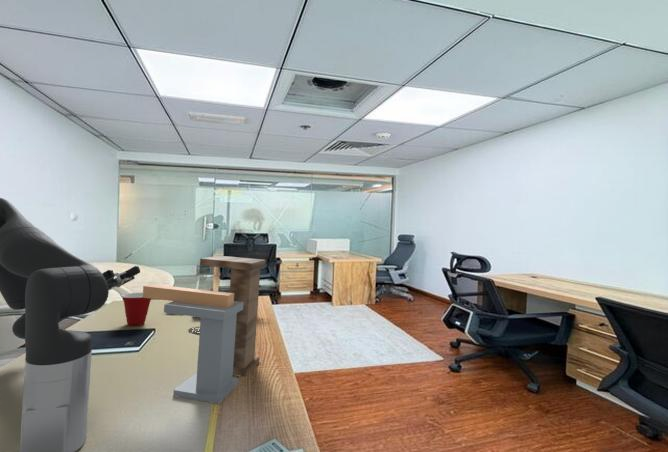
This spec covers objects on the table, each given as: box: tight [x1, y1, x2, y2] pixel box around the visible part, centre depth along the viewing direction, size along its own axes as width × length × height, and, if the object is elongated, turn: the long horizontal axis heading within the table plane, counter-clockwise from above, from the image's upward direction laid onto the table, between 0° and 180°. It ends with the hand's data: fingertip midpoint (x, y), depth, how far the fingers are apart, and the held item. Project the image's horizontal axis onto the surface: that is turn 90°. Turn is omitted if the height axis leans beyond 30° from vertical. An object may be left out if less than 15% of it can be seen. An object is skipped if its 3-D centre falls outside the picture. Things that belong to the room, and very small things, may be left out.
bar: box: [142, 283, 234, 308], centre depth 82 cm, size 24×3×3 cm, turn 80°
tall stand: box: [199, 255, 267, 377], centre depth 95 cm, size 16×10×32 cm, turn 80°
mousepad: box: [187, 327, 200, 335], centre depth 122 cm, size 9×8×1 cm
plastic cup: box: [121, 292, 152, 327], centre depth 125 cm, size 11×11×12 cm
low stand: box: [163, 301, 244, 405], centre depth 81 cm, size 16×10×22 cm, turn 80°
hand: (126, 270), depth 85 cm, fingers open, 8 cm apart
